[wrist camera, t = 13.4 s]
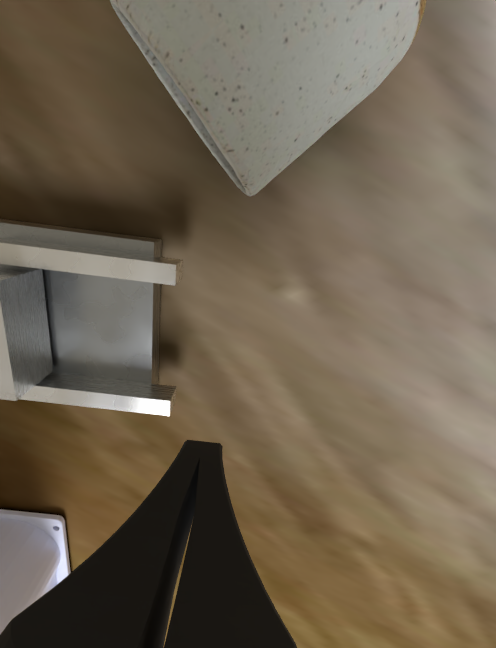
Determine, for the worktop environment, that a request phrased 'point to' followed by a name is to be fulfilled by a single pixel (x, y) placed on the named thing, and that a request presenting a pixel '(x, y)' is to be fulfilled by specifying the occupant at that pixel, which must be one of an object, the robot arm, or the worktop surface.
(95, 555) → the robot arm
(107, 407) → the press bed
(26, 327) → the block
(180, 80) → the ceramic mug
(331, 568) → the worktop surface
